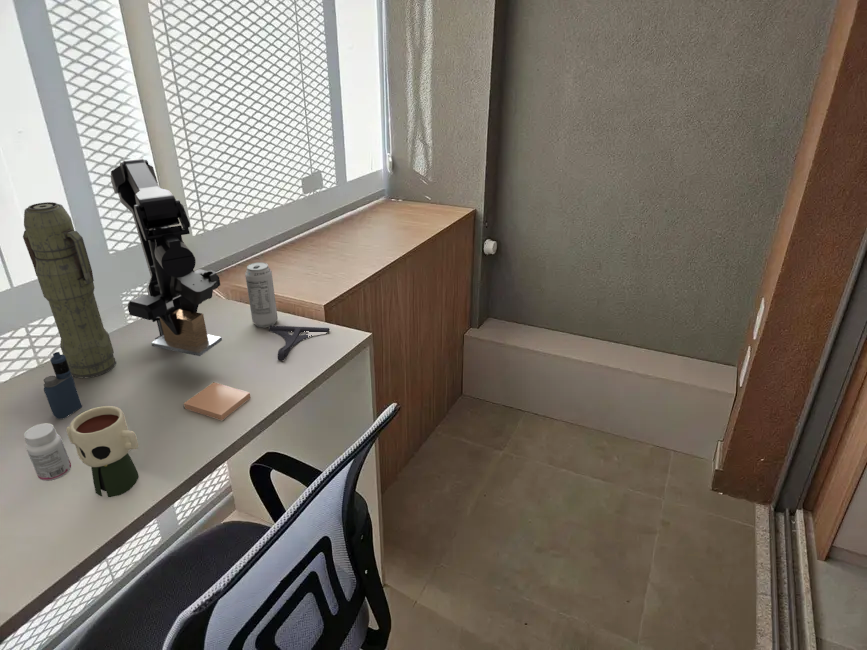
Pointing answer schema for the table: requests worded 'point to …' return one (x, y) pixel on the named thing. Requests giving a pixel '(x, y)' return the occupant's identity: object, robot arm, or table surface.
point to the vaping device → (61, 389)
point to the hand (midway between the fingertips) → (184, 330)
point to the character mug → (105, 448)
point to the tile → (217, 401)
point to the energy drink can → (261, 294)
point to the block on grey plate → (187, 335)
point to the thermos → (68, 288)
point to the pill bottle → (47, 452)
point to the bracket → (292, 336)
